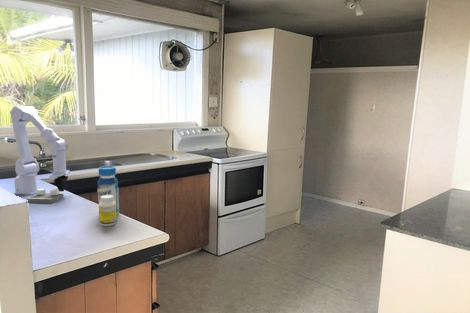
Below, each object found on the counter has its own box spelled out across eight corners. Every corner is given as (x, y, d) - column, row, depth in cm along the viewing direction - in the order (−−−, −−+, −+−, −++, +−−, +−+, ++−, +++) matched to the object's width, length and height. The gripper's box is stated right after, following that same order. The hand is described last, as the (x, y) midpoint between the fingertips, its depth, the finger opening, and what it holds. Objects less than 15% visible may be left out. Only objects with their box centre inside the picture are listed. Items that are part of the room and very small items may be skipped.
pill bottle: (102, 221, 142) (101, 194, 140) (118, 220, 143) (117, 194, 141) (97, 226, 136) (96, 198, 134) (114, 226, 137) (113, 198, 135)
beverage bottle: (123, 212, 154) (122, 166, 151) (109, 217, 146) (107, 170, 143) (108, 209, 157) (106, 164, 154) (94, 215, 149) (91, 168, 146)
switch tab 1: (36, 194, 171) (36, 190, 171) (39, 193, 174) (39, 188, 173) (42, 194, 171) (42, 190, 171) (45, 193, 173) (45, 189, 173)
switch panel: (27, 202, 166) (26, 198, 166) (40, 196, 176) (40, 192, 176) (51, 203, 165) (51, 199, 165) (63, 197, 175) (63, 193, 175)
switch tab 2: (50, 194, 171) (50, 190, 170) (53, 193, 173) (53, 189, 173) (56, 195, 170) (56, 190, 170) (59, 193, 173) (59, 189, 172)
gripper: (58, 167, 168) (60, 195, 170) (75, 161, 182) (76, 187, 184) (44, 166, 168) (46, 194, 170) (61, 161, 182) (63, 187, 185)
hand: (61, 191), depth 177 cm, fingers closed
